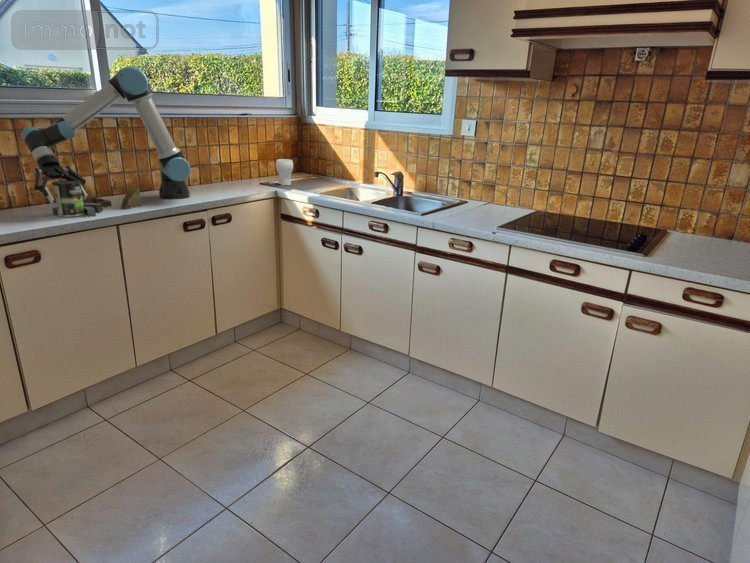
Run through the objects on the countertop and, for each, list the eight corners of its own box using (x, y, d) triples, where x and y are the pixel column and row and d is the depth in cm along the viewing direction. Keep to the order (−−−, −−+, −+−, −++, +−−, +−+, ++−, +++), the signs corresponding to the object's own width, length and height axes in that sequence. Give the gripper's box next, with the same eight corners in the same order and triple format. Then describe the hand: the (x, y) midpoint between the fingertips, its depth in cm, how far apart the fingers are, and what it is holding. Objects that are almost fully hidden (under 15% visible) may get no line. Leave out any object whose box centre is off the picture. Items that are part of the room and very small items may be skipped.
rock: (123, 205, 227) (145, 200, 233) (115, 189, 228) (137, 184, 233) (121, 216, 236) (142, 210, 241) (113, 200, 236) (135, 195, 242)
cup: (292, 186, 306) (291, 161, 301) (274, 185, 306) (274, 160, 301) (294, 183, 316) (294, 159, 311) (278, 182, 316) (277, 158, 311)
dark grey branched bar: (92, 217, 214) (91, 209, 213) (49, 214, 216) (47, 206, 215) (108, 211, 225) (106, 204, 224) (66, 209, 226) (65, 201, 225)
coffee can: (91, 213, 219) (86, 180, 215) (73, 217, 210) (67, 184, 205) (70, 211, 221) (65, 179, 217) (52, 215, 212) (46, 182, 207)
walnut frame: (111, 206, 236) (110, 201, 235) (81, 210, 225) (80, 205, 224) (96, 202, 243) (95, 197, 242) (65, 206, 232) (64, 201, 232)
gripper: (74, 163, 225) (96, 200, 223) (11, 167, 206) (35, 209, 203) (78, 152, 221) (101, 190, 218) (14, 155, 202) (39, 197, 199)
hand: (69, 199), depth 211 cm, fingers open, 13 cm apart
